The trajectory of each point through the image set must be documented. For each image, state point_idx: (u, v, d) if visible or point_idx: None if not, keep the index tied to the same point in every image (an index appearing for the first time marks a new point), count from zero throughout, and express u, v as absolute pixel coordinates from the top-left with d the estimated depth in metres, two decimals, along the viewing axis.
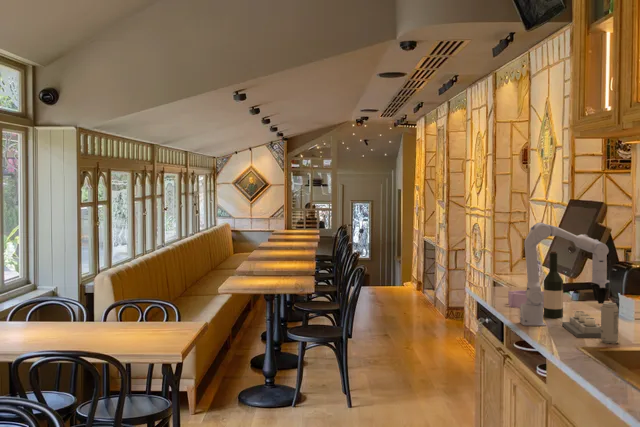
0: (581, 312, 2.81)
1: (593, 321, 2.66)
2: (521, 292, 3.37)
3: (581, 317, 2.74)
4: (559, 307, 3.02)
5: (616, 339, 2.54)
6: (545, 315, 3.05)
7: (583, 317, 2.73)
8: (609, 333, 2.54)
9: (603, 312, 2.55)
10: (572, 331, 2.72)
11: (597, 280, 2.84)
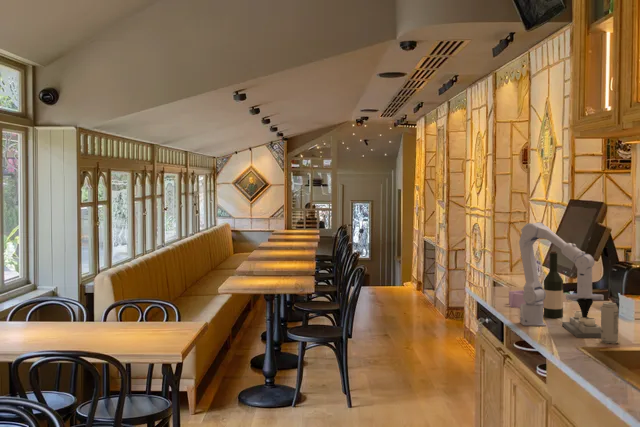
0: (581, 312, 2.81)
1: (593, 321, 2.66)
2: (522, 292, 3.37)
3: (581, 319, 2.74)
4: (559, 307, 3.02)
5: (616, 339, 2.54)
6: (545, 315, 3.05)
7: (583, 319, 2.73)
8: (609, 333, 2.54)
9: (603, 312, 2.55)
10: (572, 331, 2.72)
11: (577, 293, 2.76)
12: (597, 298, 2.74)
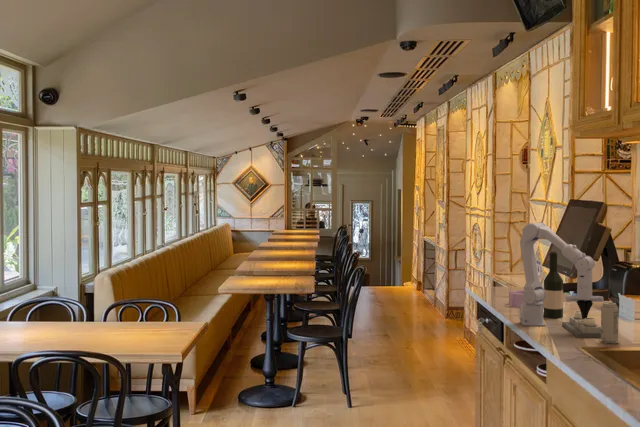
0: None
1: (593, 321, 2.66)
2: (522, 292, 3.37)
3: None
4: (559, 307, 3.02)
5: (616, 339, 2.54)
6: (545, 315, 3.05)
7: None
8: (609, 333, 2.54)
9: (603, 312, 2.55)
10: (572, 331, 2.72)
11: (577, 295, 2.76)
12: (597, 300, 2.74)
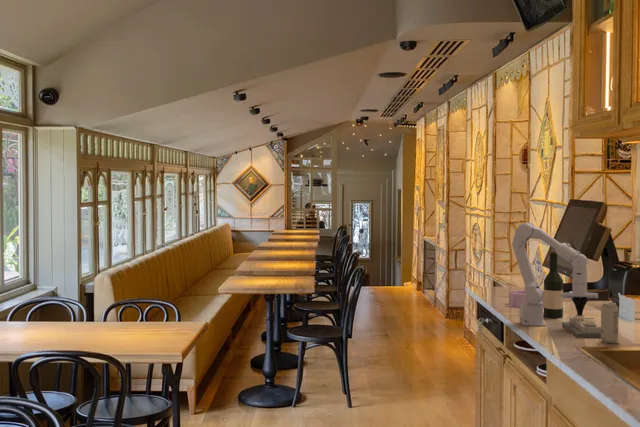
0: None
1: (593, 321, 2.66)
2: (521, 292, 3.37)
3: None
4: (559, 307, 3.02)
5: (616, 339, 2.54)
6: (545, 315, 3.05)
7: None
8: (609, 333, 2.54)
9: (603, 312, 2.55)
10: (572, 331, 2.72)
11: (572, 292, 2.83)
12: (592, 296, 2.81)
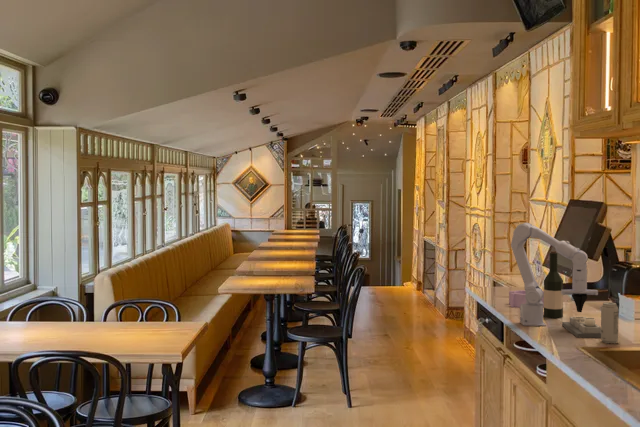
0: (581, 318, 2.81)
1: (593, 321, 2.66)
2: (521, 292, 3.37)
3: None
4: (559, 307, 3.02)
5: (616, 339, 2.54)
6: (545, 315, 3.05)
7: None
8: (609, 333, 2.54)
9: (603, 312, 2.55)
10: (572, 331, 2.72)
11: (572, 288, 2.83)
12: (591, 293, 2.81)
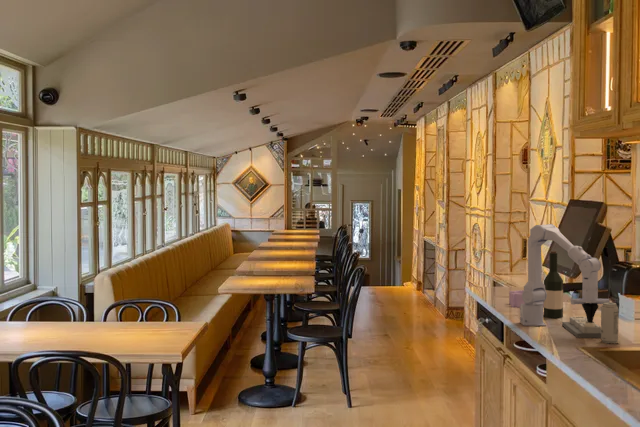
0: (581, 318, 2.81)
1: (593, 325, 2.66)
2: (522, 292, 3.37)
3: None
4: (559, 307, 3.02)
5: (616, 339, 2.54)
6: (545, 315, 3.05)
7: None
8: (609, 333, 2.54)
9: (603, 312, 2.55)
10: (572, 331, 2.72)
11: (582, 297, 2.69)
12: None
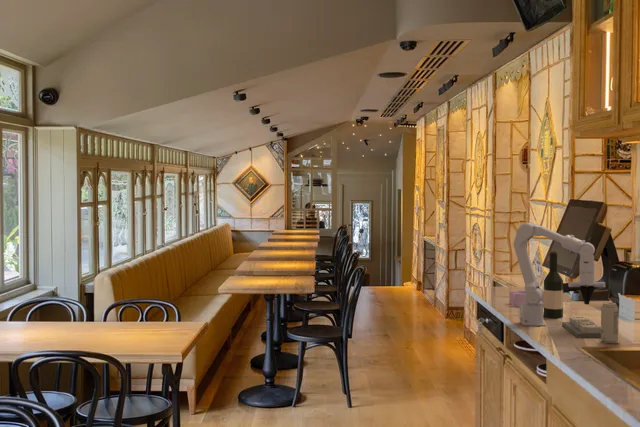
0: (581, 318, 2.81)
1: None
2: (522, 292, 3.37)
3: None
4: (559, 307, 3.02)
5: (616, 339, 2.54)
6: (545, 315, 3.05)
7: None
8: (609, 333, 2.54)
9: (603, 312, 2.55)
10: (572, 331, 2.72)
11: (579, 280, 2.81)
12: (599, 285, 2.79)
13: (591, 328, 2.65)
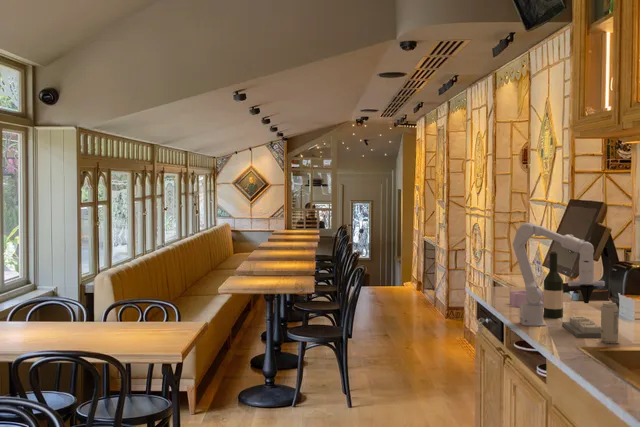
0: (581, 318, 2.81)
1: None
2: (522, 292, 3.37)
3: None
4: (559, 307, 3.02)
5: (616, 339, 2.54)
6: (545, 315, 3.05)
7: None
8: (609, 333, 2.54)
9: (603, 312, 2.55)
10: (572, 331, 2.72)
11: (579, 279, 2.83)
12: (598, 284, 2.81)
13: (591, 328, 2.65)
